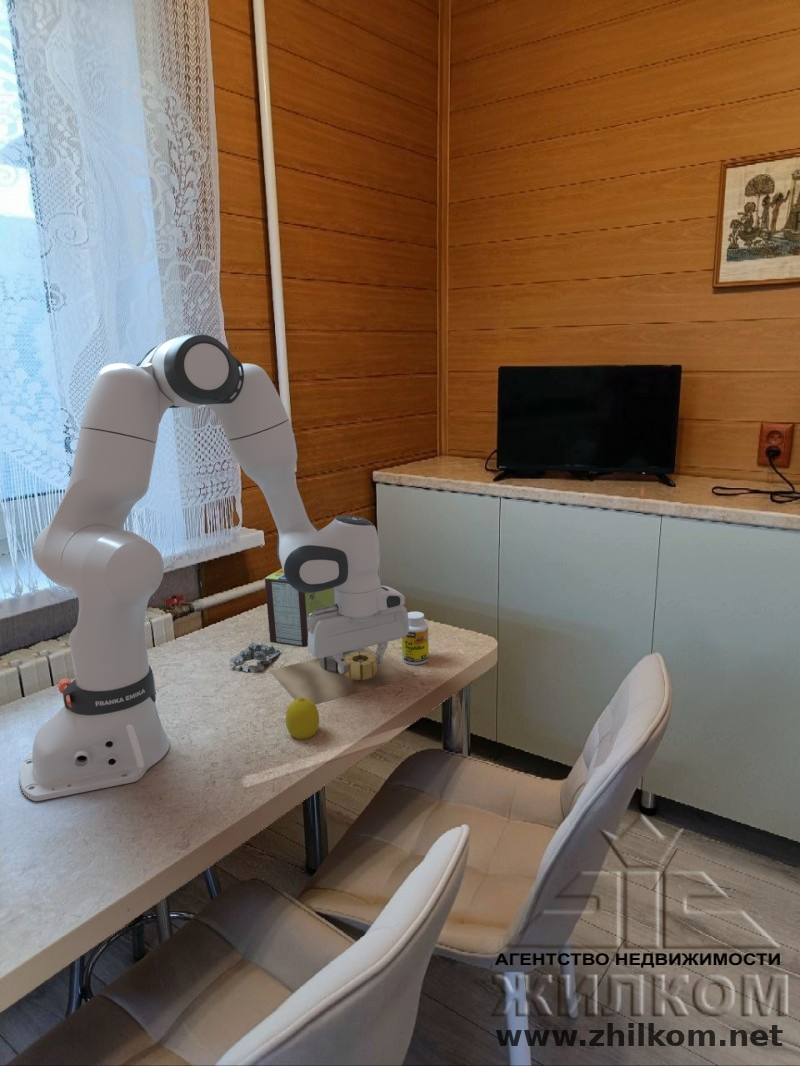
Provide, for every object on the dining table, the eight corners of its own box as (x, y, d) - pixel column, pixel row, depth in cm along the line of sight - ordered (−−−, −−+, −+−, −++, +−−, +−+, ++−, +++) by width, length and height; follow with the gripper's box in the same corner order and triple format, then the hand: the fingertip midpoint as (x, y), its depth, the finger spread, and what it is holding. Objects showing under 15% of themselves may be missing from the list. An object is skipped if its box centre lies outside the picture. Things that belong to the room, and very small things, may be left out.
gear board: (302, 715, 127) (301, 687, 125) (269, 677, 142) (267, 652, 141) (408, 684, 137) (407, 659, 136) (366, 652, 152) (365, 628, 151)
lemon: (314, 750, 116) (311, 707, 113) (282, 747, 117) (279, 704, 115) (324, 733, 121) (322, 691, 119) (294, 730, 122) (291, 688, 120)
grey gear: (331, 676, 138) (330, 663, 137) (313, 659, 146) (312, 646, 145) (372, 665, 142) (371, 652, 141) (352, 649, 150) (352, 637, 149)
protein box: (340, 623, 169) (337, 561, 165) (308, 648, 156) (304, 581, 152) (302, 618, 173) (298, 558, 169) (268, 642, 159) (263, 577, 156)
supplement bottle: (401, 665, 146) (400, 619, 143) (403, 654, 151) (402, 609, 148) (428, 666, 145) (427, 619, 143) (429, 654, 150) (428, 609, 148)
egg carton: (259, 682, 141) (257, 663, 140) (226, 677, 143) (225, 659, 142) (284, 660, 150) (283, 642, 149) (254, 656, 153) (252, 638, 152)
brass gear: (353, 682, 132) (352, 667, 131) (340, 670, 137) (339, 656, 137) (381, 674, 135) (381, 660, 134) (367, 663, 140) (367, 649, 139)
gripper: (313, 616, 125) (317, 687, 128) (412, 595, 134) (413, 661, 138) (300, 606, 130) (304, 674, 134) (396, 586, 140) (398, 650, 143)
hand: (360, 667), depth 136 cm, fingers closed on brass gear, 6 cm apart
